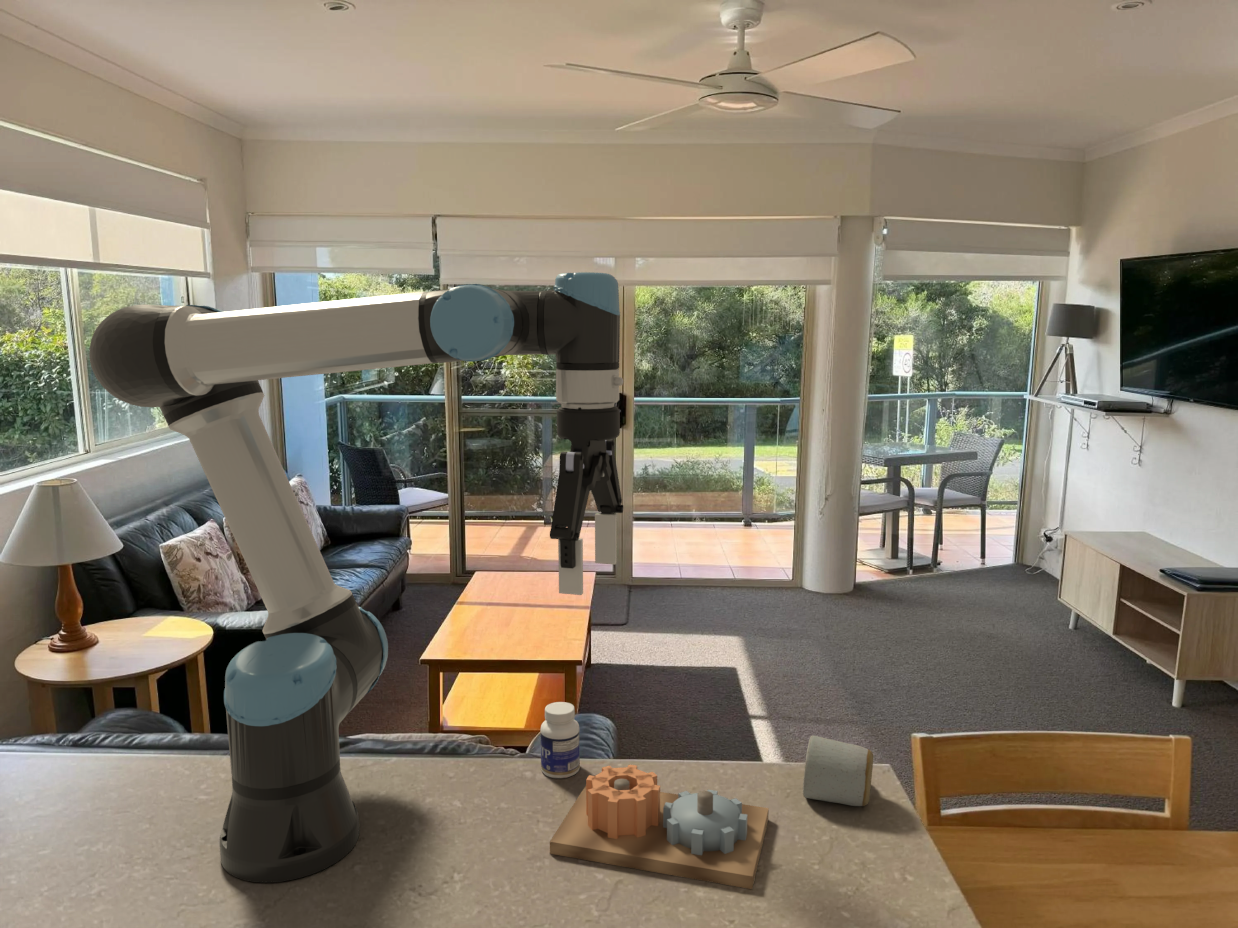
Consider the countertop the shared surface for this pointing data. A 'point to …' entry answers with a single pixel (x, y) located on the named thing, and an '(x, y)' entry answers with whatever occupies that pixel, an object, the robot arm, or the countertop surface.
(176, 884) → the countertop surface
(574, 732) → the pill bottle
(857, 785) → the ceramic mug
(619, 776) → the terracotta gear
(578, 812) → the walnut board
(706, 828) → the slate gear
